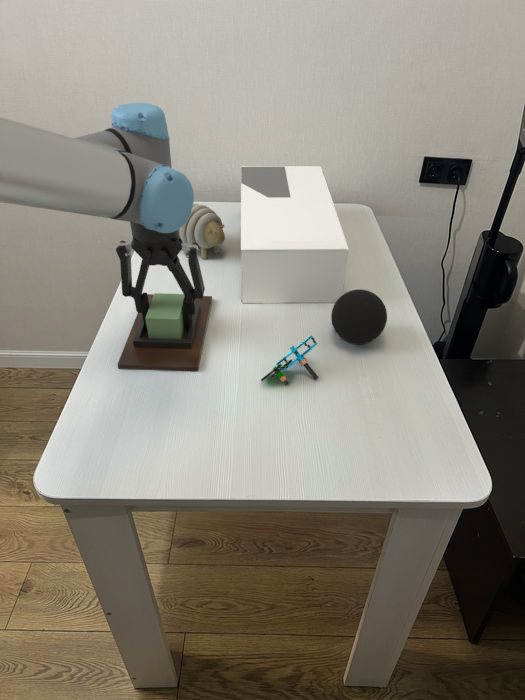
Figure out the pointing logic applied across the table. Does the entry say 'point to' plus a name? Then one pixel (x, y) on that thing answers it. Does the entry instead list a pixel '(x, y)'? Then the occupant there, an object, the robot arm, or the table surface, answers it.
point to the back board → (167, 344)
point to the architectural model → (290, 237)
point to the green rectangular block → (166, 316)
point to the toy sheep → (203, 229)
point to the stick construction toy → (300, 359)
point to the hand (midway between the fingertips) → (168, 325)
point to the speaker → (359, 316)
